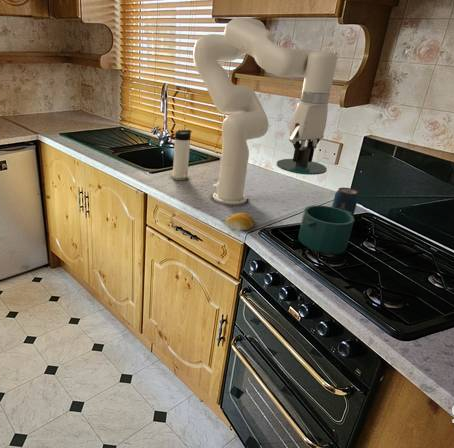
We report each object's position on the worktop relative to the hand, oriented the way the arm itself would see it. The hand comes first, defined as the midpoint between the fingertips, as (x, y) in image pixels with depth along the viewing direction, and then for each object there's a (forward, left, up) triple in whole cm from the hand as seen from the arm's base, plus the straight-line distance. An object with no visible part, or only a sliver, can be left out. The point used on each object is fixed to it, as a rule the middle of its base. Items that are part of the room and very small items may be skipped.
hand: (302, 161), depth 122 cm
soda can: (+6, +17, -22) cm, 29 cm away
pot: (+13, 0, -22) cm, 26 cm away
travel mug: (-55, -7, -22) cm, 60 cm away
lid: (0, 0, -2) cm, 2 cm away
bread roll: (-7, -15, -22) cm, 28 cm away
